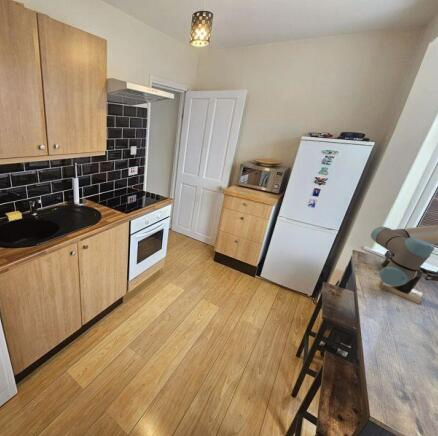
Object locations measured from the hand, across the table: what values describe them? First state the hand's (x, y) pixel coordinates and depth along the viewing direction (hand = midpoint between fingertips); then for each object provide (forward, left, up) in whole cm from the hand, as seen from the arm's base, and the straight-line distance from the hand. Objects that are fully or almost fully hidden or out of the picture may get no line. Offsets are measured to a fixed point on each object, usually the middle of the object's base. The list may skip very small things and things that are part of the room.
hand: (419, 262), depth 107 cm
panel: (-1, -7, -21) cm, 22 cm away
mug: (+5, -38, -21) cm, 44 cm away
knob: (-1, -7, -18) cm, 20 cm away
